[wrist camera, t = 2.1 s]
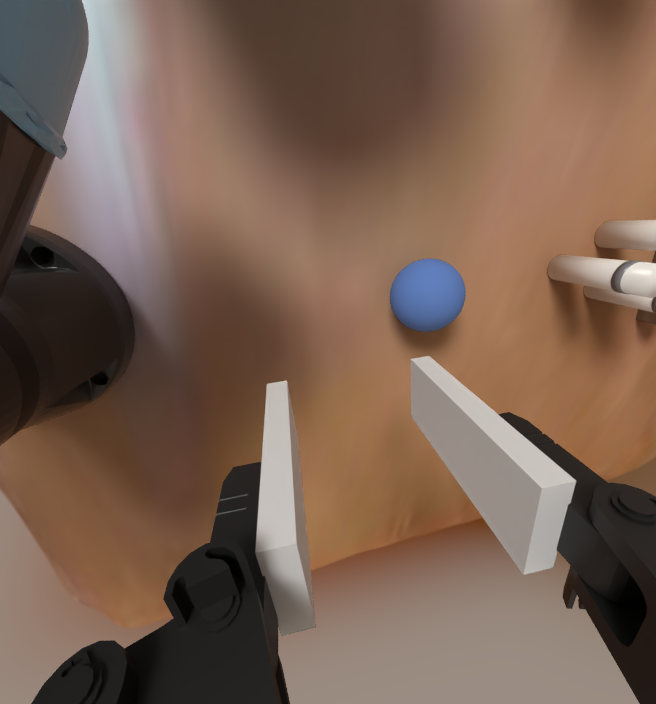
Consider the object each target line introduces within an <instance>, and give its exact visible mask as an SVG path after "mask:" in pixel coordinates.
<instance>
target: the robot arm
mask: <svg viewBox="0 0 656 704" xmlns="http://www.w3.org/2000/svg"><path fill="white" fill-rule="evenodd" d="M87 51H88V23H87V18H86V14H85V10H84V6H83V3H82V0H0V445H2V444H3V443H4V442H5V441H7V440H8V439H9V438H11V437H12V436H13V435H14V434H16V433H17V432H18V431H20V430H22V429H25V428H28V427H31V426H33V425H36V424H39V423H42V422H44V421H47V420H50V419H52V418H55V417H58V416H61V415H63V414H66V413H69V412H72V411H74V410H77V409H79V408H81V407H83V406H85V405H87V404H89V403H91V402H92V401H94V400H95V399H97V398H98V397H99V396H101V395H102V394H103V393H104V392H105V391H106V390H108V389H109V388H110V387H111V386H112V385H113V384H114V383H115V382H116V381H117V380H118V379H119V378H120V377H121V375H122V374H123V373H124V371H125V370H126V368H127V366H128V364H129V362H130V359H131V357H132V353H133V348H134V336H135V334H134V325H133V320H132V316H131V312H130V310H129V307H128V304H127V302H126V300H125V298H124V296H123V294H122V293H121V291H120V289H119V288H118V286H117V285H116V283H115V282H114V280H113V279H112V278H111V277H110V275H109V274H108V273H107V272H106V271H105V270H104V269H103V268H102V267H101V266H100V265H99V264H98V263H97V262H96V261H95V260H94V259H93V258H92V257H90V256H89V255H88V254H87V253H85V252H84V251H83V250H81V249H80V248H78V247H77V246H75V245H74V244H72V243H71V242H69V241H67V240H65V239H63V238H62V237H60V236H58V235H56V234H53V233H51V232H49V231H46V230H44V229H41V228H38V227H35V226H32V225H29V224H30V221H31V219H32V216H33V214H34V211H35V208H36V206H37V203H38V201H39V198H40V195H41V193H42V190H43V188H44V185H45V182H46V180H47V177H48V174H49V172H50V169H51V167H52V164H53V161H54V159H55V156H57V157H58V158H59V159H62V158H63V157H64V155H65V154H66V151H67V147H66V144H65V142H64V139H63V137H62V136H63V133H64V130H65V126H66V123H67V120H68V117H69V113H70V110H71V107H72V103H73V100H74V97H75V94H76V90H77V87H78V84H79V81H80V77H81V74H82V71H83V68H84V64H85V61H86V58H87ZM411 417H412V418H413V420H414V421H415V422H416V424H417V425H418V427H419V428H420V429H421V431H422V432H423V434H424V435H425V437H426V438H427V439H428V441H429V442H430V444H431V445H432V446H433V448H434V449H435V451H436V452H437V453H438V455H439V456H440V458H441V459H442V461H443V462H444V463H445V465H446V466H447V468H448V469H449V470H450V472H451V473H452V475H453V476H454V477H455V479H456V480H457V482H458V483H459V485H460V486H461V487H462V489H463V490H464V492H465V493H466V494H467V496H468V497H469V499H470V500H471V502H472V503H473V504H474V506H475V507H476V509H477V510H478V511H479V513H480V514H481V516H482V517H483V518H484V520H485V521H486V523H487V524H488V525H489V527H490V528H491V530H492V531H493V532H494V534H495V535H496V537H497V538H498V540H499V541H500V542H501V544H502V545H503V547H504V548H505V550H506V551H507V552H508V554H509V555H510V557H511V558H512V559H513V561H514V562H515V564H516V565H517V566H518V568H519V569H520V571H521V572H522V573H523V575H525V574H529V573H533V572H537V571H541V570H545V569H549V568H553V566H554V562H555V558H556V554H557V551H559V552H560V553H561V555H562V556H563V557H564V558H565V559H566V561H567V562H568V563H569V564H570V565H571V566H570V569H569V573H568V576H567V579H566V582H565V586H564V591H563V599H564V602H565V605H566V607H567V608H571V609H572V607H573V604H574V601H575V598H576V595H578V597H579V600H578V601H579V608H580V609H586V611H587V613H588V614H589V616H590V618H591V620H592V621H593V623H594V625H595V627H596V628H597V630H598V632H599V634H600V635H601V637H602V639H603V641H604V642H605V644H606V646H607V647H608V649H609V651H610V652H611V655H612V656H613V658H614V660H615V661H616V663H617V665H618V667H619V668H620V670H621V672H622V674H623V675H624V677H625V679H626V681H627V682H628V684H629V686H630V688H631V689H632V691H633V693H634V694H635V696H636V698H637V700H638V701H639V703H640V704H656V497H655V496H653V495H652V494H649V493H647V492H646V491H643V490H641V489H638V488H635V487H632V486H629V485H626V484H617V483H607V482H606V481H605V480H604V479H602V478H601V477H600V476H598V475H597V474H596V473H594V472H593V471H592V470H591V469H589V468H588V467H587V466H585V465H584V464H583V463H582V462H580V461H579V460H578V459H576V458H575V457H574V456H572V455H571V454H570V453H569V452H567V451H566V450H565V449H563V448H562V447H561V446H560V445H558V444H555V443H554V441H553V440H552V439H550V438H549V437H548V436H547V435H545V434H542V432H541V431H540V430H539V429H538V428H536V427H535V426H534V425H532V424H531V423H530V422H528V421H527V420H525V419H523V418H521V417H518V416H516V415H514V414H512V413H509V412H507V413H502V414H497V413H496V412H494V411H493V410H492V409H491V408H490V407H489V406H487V405H486V404H485V403H484V402H483V401H482V400H480V399H479V398H478V397H477V396H476V395H474V394H473V393H472V392H471V391H470V390H469V389H467V388H466V387H465V386H464V385H463V384H461V383H460V382H459V381H458V380H457V379H456V378H454V377H453V376H452V375H451V374H450V373H448V372H447V371H446V370H445V369H444V368H443V367H441V366H440V365H439V364H438V363H437V362H435V361H434V360H433V359H432V358H431V357H430V356H426V357H420V358H414V359H411ZM164 601H165V603H166V605H167V606H168V608H169V610H170V612H171V614H172V616H173V619H172V620H171V621H169V622H168V623H166V624H165V625H164V626H162V627H160V628H159V629H157V630H156V631H154V632H152V633H150V634H149V635H147V636H145V637H143V638H142V639H140V640H138V641H137V642H135V643H133V644H132V645H130V646H128V647H127V648H125V649H124V648H123V647H122V646H120V645H119V644H118V643H117V642H115V641H98V642H96V643H94V644H91V645H89V646H87V647H85V648H82V649H81V650H80V651H78V652H77V653H76V654H74V655H73V656H72V657H70V658H69V659H68V660H66V661H65V662H64V663H63V664H62V665H61V666H60V667H59V668H58V669H57V670H56V671H55V672H54V673H53V675H52V676H51V677H50V678H49V679H48V680H47V681H46V682H45V683H44V685H43V686H42V688H41V689H40V691H39V693H38V694H37V696H36V697H35V699H34V701H33V702H32V703H31V704H290V702H289V697H288V693H287V688H286V683H285V678H284V673H283V669H282V664H281V661H280V658H279V655H278V627H279V630H280V633H281V635H282V636H283V635H287V634H291V633H295V632H299V631H302V630H307V629H310V628H314V627H316V624H315V613H314V603H313V592H312V582H311V571H310V561H309V550H308V540H307V529H306V519H305V508H304V498H303V487H302V477H301V466H300V455H299V445H298V436H297V431H296V426H295V420H294V415H293V410H292V405H291V399H290V394H289V389H288V383H287V381H281V382H275V383H269V384H267V391H266V406H265V420H264V434H263V449H262V462H258V463H253V464H248V465H242V466H237V467H233V469H232V470H231V471H230V473H229V474H228V476H227V477H226V479H225V480H224V482H223V485H222V490H221V495H220V502H219V504H218V508H217V516H216V518H215V522H214V527H213V532H212V536H211V541H210V543H208V544H205V545H203V546H201V547H200V548H198V549H196V550H195V551H193V552H191V553H190V554H189V555H188V556H187V557H186V558H185V559H184V560H183V561H182V562H181V563H180V564H179V565H178V566H177V568H176V569H175V571H174V573H173V574H172V576H171V578H170V579H169V581H168V583H167V587H166V591H165V595H164Z"/></svg>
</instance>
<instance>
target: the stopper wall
mask: <svg viewBox="0 0 656 704" xmlns="http://www.w3.org/2000/svg"><path fill="white" fill-rule="evenodd" d="M653 263H656V252H655V256H654V259H653ZM636 319H637V320H641V321H645V322H649V323H652V324H656V313H654V312H649V311H645V310H640V309H639V311H638V314H637V318H636Z"/></svg>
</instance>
